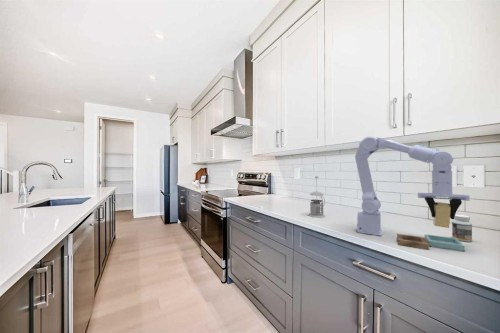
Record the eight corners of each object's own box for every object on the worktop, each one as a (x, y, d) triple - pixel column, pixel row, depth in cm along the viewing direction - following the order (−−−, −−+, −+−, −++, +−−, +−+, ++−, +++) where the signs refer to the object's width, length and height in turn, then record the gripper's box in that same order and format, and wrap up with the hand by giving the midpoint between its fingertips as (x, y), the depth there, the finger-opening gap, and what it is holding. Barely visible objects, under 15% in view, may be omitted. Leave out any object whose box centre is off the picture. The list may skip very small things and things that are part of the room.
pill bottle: (451, 236, 89) (451, 213, 89) (470, 239, 85) (470, 215, 85) (453, 240, 84) (452, 215, 85) (473, 243, 81) (473, 218, 81)
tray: (429, 246, 78) (429, 240, 78) (424, 238, 86) (424, 234, 86) (464, 251, 73) (464, 246, 73) (456, 243, 81) (456, 238, 81)
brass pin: (433, 225, 79) (435, 203, 79) (431, 223, 83) (432, 201, 83) (451, 228, 76) (453, 205, 76) (448, 225, 80) (449, 203, 80)
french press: (305, 215, 130) (305, 176, 130) (317, 213, 136) (317, 175, 136) (318, 218, 121) (317, 176, 122) (330, 216, 128) (330, 176, 128)
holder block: (398, 244, 79) (398, 239, 79) (397, 238, 87) (397, 233, 87) (429, 249, 74) (428, 244, 74) (424, 242, 82) (424, 237, 82)
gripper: (419, 182, 80) (419, 217, 80) (472, 184, 72) (473, 222, 72) (416, 181, 86) (417, 214, 86) (465, 182, 78) (466, 218, 78)
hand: (442, 217), depth 79 cm, fingers closed on brass pin, 5 cm apart
